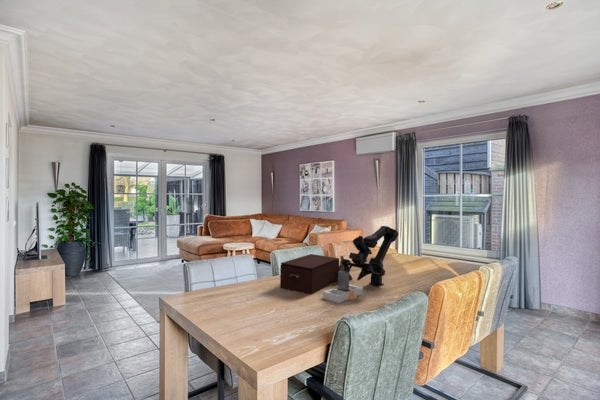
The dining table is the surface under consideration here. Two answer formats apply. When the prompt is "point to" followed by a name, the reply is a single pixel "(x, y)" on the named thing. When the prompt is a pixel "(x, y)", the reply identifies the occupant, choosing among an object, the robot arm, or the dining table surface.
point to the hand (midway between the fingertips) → (350, 278)
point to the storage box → (309, 273)
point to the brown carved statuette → (341, 268)
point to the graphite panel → (343, 281)
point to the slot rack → (342, 294)
